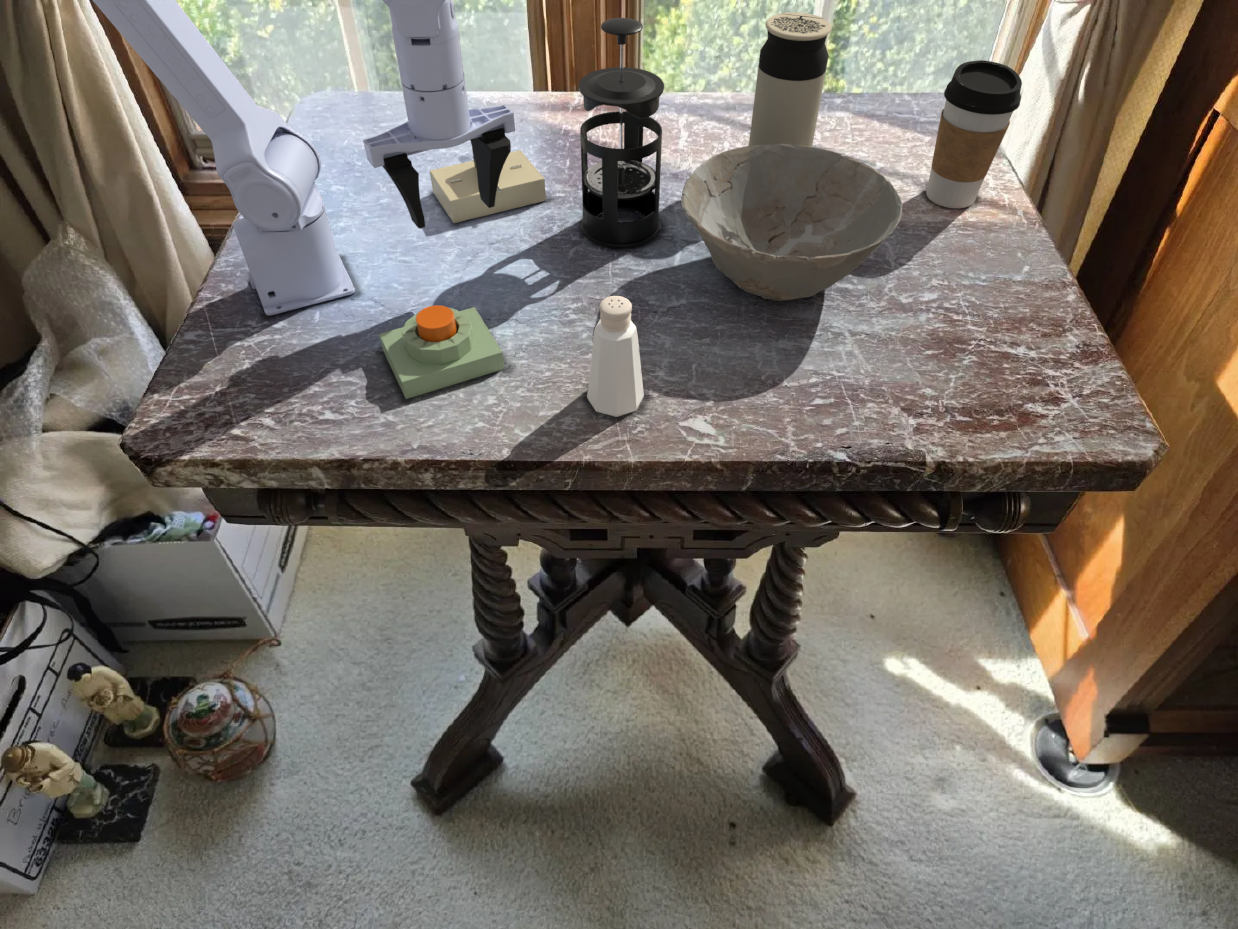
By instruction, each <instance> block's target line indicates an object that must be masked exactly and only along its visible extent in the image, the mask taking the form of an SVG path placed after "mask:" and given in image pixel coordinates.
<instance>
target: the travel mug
mask: <svg viewBox="0 0 1238 929" xmlns="http://www.w3.org/2000/svg"><path fill="white" fill-rule="evenodd" d="M765 29H766V30H767V39H766V40H765V42H764V43H763V45H762V47H761V48H760V50H759V58H758V66H757V73H756V83H755V89H754V99H753V100H754V101H753V106H752V116H751V123H750V131H749V140H748V146H750V145H771V144H792V145H800V146H808V147H813V144H814V140H815V132H816V128H817V122H818V116H819V112H820V106H821V101H822V96H823V89H824V84H825V78H826V71H827V67H828V61H829V52H828V48H827V45H826V41H827V38H828V35H829V34H830V33H831V31H832V24H831V23H830V22H829V21H828V20H827V19H825V18H824V17H822V16H819V15H818V14H817V15H816V14H813V13H809V12H801V11H799V12H798V11H789V12H782V13H776V14H774V15H772V16H770V17H768V18H767V20H766V22H765Z"/></svg>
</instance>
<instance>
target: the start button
mask: <svg viewBox="0 0 1238 929" xmlns="http://www.w3.org/2000/svg"><path fill="white" fill-rule="evenodd" d="M450 308H451V307H447V306H445V305H437V304H435V305H430V306H427V307H426V306H425V307H424V308H422V309H421V310H419V311H418V312H417V313H418V314H417V313H416V314H417V316H416V323H417V328H418V332H419V336H420V337H421V338H422V339H423V340H424V341H427V342H441V341H445V340H448V339H450V338H451V337H453V336H454V335H455V333H456V323H455V317H454V313H453V311H452V310H451V309H450Z"/></svg>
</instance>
